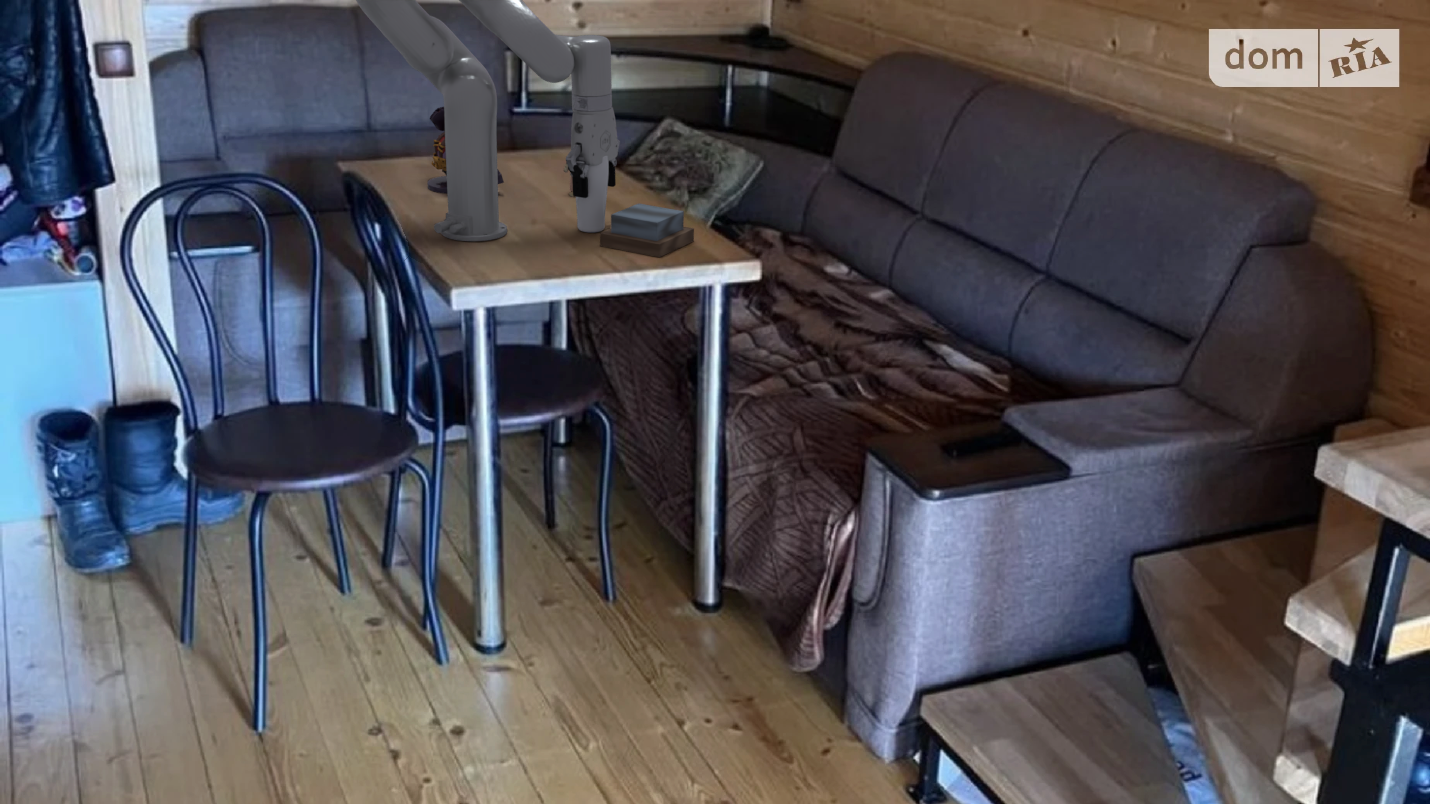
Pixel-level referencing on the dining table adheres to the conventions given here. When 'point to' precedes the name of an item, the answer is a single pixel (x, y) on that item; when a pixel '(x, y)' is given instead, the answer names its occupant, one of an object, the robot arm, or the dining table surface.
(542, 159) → the dining table surface
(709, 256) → the dining table surface
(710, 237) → the dining table surface
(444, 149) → the figurine
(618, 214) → the stone block on base
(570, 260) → the dining table surface
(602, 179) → the drinking glass
